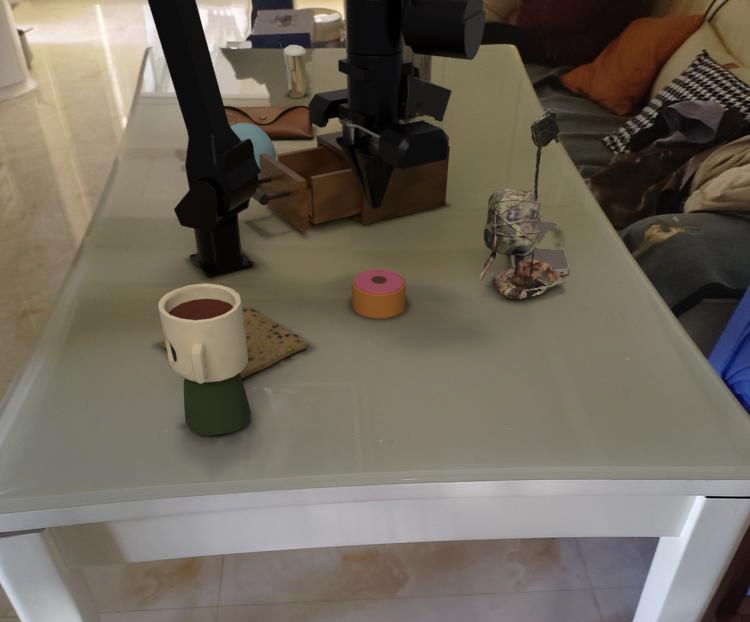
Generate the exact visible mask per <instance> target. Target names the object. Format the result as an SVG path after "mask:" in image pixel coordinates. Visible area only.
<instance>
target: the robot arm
mask: <svg viewBox="0 0 750 622" xmlns="http://www.w3.org/2000/svg"><path fill="white" fill-rule="evenodd" d="M147 3H148V6H149V10H150V13H151V17H152V20H153V24H154V26H155V30H156V33H157V36H158V39H159V43H160V46H161V49H162V53H163V56H164V60H165V63H166V67H167V70H168V73H169V76H170V80H171V83H172V86H173V89H174V92H175V95H176V99H177V103H178V105H179V110H180V112H181V115H182V119H183V123H184V125H185V129H186V133H187V139H188V140H187V147H186V155H185V163H184V166H185V167H184V168H185V173H186V179H187V185H188V191H187V192H186V193H185V195H184V196H183V197H182V199H181V200H180V201H179V202H178V203H177V205H176V206H175V207H174V208H173V209H174V214H175V215H176V218H177V220H178V222H179V225H180V226H181V227H184V228H189V229H193V231H194V238H195V246H196V251H197V252H196V253H193V254H192V253H191V254H190V255H189V256H188V257H189V261H190V262H191V263H193V264H194V265H195V267H196V268H198V270H199V271H200V272H201V273H202V274H203V275H204V276H205V277H207V278H213V277H216V276H221V275H225V274H230V273H233V272H237V271H241V270H245V269H249V268H252V267H254V264H253V263H254V262H253V261H252V260H251V259H250V258H249V257H248V256H247V255H246V254H244V253H243V248H242V240H241V239H242V238H241V229H240V222H239V214H241V213H242V212H244V211H246V210H247V209H249V206H250V201H251V198H252V196H254V194H255V192H256V190H257V188H259V186H258V184H259V181H258V174H260V173H261V170H260V168H259V167H258V165H257V162H256V159H255V155H254V146H253V143H252V141H251V139H249V138H248V139H245V140H242V141H241V139H240V138H239V137H238V136H237V135H236V133H235V132H234V131H233V130H232V129H231V127H230V125H229V122H228V119H227V115H226V111H225V108H224V106H225V105H224V100H223V96H222V93H221V89H220V86H219V82H218V77H217V75H216V71H215V67H214V64H213V60H212V56H211V52H210V49H209V44H208V42H207V41H208V40H207V37H206V34H205V30H204V27H203V24H202V22H203V21H202V19H201V16H200V11H199V8H198V3H197V1H196V0H147ZM344 10H345V13H344V14H345V53H346V54H345V56H346V58H341V59H338V60H337V66H338V67H337V69H338V70H337V71H338V72H340V73H342V74H345V75H346V88H342V89H336V90H335V89H334V90H329V91H324V92H319V93H318V92H317V93H315V94H314V95H313V97H312V98H311V99H310V101H309V103H308V107H309V120H310V122H311V123H312V125H314V126H316V127H318V128H320V129H322V128H326V127H327V125H328V123H329V122H330V121H329V120H332V119H338V123H339V124H341V131H342V136H341V137H337V138H336V143H337V144H338V145H339V146H340V147H341V149H342V151H343V153H344V155H345V157H346V159H347V161H348V163H349V165H350V167H351V169H352V171H353V173H354V175H355V177H356V179H357V181H358V183H359V186H360V188H361V190H362V192H363V194H364V197H365V199H366V201H367V203H368V205H369V207H371V208H372V209H377V208H380V207H381V205H382V202H383V199H384V196H385V193H386V190H387V187H388V184H389V181H390V179H391V176H392V173H393V171H394V168H395V167H396V168H402V169H406V168H410V167H415V166H419V165H423V164H428V163H432V162H437V161H441V160H445V159H447V157H448V146H450V137H449V135H448V134H447V133H446V131H445V130H444V129H443V128H441V127H438V126H437V125H434V124H432V123H430V122H427V121H425V120H417V121H412V122H410V123H407V124H406V123H404V124H402V123H403V122H402V123H400V122H401V121H403V120H402V119H405V120H410V121H411V120H415V119H416V118H417V117H416V112H417V113H420V114H423V115H425V116H427V117H431V118H433V119H434V120H435V121H436V122H441V123H442V122H443V121H444V118H445V115H446V111H447V108H448V104H449V101H450V98H451V95H452V92H453V91H452V90H451V89H450V88H447V87H444V86H442V85H438V84H436V83H434V82H432V81H431V82H428V81H425V80H423V79H420V70H419V68H418V67H415V66H413V65H412V62H410V61H408V60H405V59H404V43H405V46H410V47H411V50H412V52H413V53H414V54H420V55H430V56H432V57H441V58H450V59H457V60H468V61H472V60H473V59H475V58H476V56H477V54H478V52H479V51H480V50H479V49H480V47H481V44H482V40H483V36H484V32H485V31H484V30H485V24H486V23H485V22H486V10H485V9H484V0H344Z"/></svg>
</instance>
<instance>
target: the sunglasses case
mask: <svg viewBox="0 0 750 622" xmlns="http://www.w3.org/2000/svg"><path fill="white" fill-rule="evenodd" d="M224 108H225V111H226V115H227V119H228V122H229V125H230V127H231V126H232V125H234V124H238V123H249V124H253V125H256V126H258V127H259V128H261V129H262V130H263V131H264V132H265V133H266V134H267V135H268V137H269V138H270V140H271V141H272V140H273V141H285V140H297V139H306V138H313V137H314V126H313V125H314V124H313V123H311V122H310V120H309V106H308V105H301V104H299V105H292V106H291V105H290V106H235V105H224Z"/></svg>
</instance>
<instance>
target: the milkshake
mask: <svg viewBox="0 0 750 622" xmlns="http://www.w3.org/2000/svg"><path fill="white" fill-rule="evenodd" d="M278 43H279V45H280V48H281V50H282V53H283V60H284V67H285V73H286V81H287V88H288V89H287V90H288V96H289V98H291V99H300V98H301V99H302V98H305V96H306V95H305V91H306V90H305V88H306V61H307V50H306V49H305V48H304V47H303V46H302V45H298V44H290V45H288V46H286V47H285V48H283V46H282V44H281V42H280V41H279V42H278Z"/></svg>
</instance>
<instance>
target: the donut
mask: <svg viewBox="0 0 750 622" xmlns="http://www.w3.org/2000/svg"><path fill="white" fill-rule="evenodd" d="M406 289H407V282H406V280H405V278H404V277H403V276H401V274H399V273H397V272H395V271H392V270H389V269H381V268H376V269H375V268H374V269H367V270H363V271H362V272H359V273H358V274H357V275H356V276H354V277H353V279H352V281H351V298H352V299H351V305H352V309H353V310H354V311H355V312H356V313H357V314H359V315H361V316H363V317H365V318H369V319H387V318H393V317H395V316H398V315H400V314H401V313H402V312H403V311H404V310H405V307H406Z"/></svg>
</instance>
